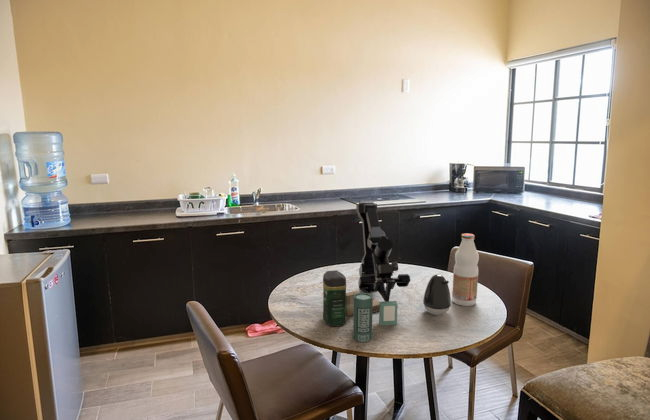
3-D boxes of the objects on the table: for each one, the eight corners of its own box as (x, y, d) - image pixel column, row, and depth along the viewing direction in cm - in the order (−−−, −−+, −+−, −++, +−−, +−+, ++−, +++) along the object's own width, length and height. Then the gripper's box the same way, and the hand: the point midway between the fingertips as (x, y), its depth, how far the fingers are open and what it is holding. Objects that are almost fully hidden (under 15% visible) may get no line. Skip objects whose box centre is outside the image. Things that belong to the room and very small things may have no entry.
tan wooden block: (343, 313, 170) (343, 293, 168) (355, 310, 173) (356, 290, 171) (347, 316, 167) (347, 296, 166) (360, 312, 171) (360, 292, 169)
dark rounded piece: (435, 320, 163) (437, 281, 160) (417, 310, 172) (418, 272, 169) (456, 315, 168) (458, 276, 165) (437, 305, 177) (439, 268, 174)
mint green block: (379, 322, 162) (379, 301, 161) (395, 321, 163) (395, 301, 161) (380, 325, 160) (381, 304, 158) (397, 324, 160) (397, 304, 159)
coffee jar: (348, 326, 159) (348, 276, 156) (326, 328, 158) (326, 278, 154) (341, 314, 169) (341, 267, 165) (321, 316, 167) (320, 269, 163)
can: (370, 333, 154) (371, 292, 151) (372, 342, 148) (373, 299, 145) (352, 333, 153) (353, 292, 150) (354, 342, 147) (354, 299, 145)
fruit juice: (456, 306, 175) (460, 238, 170) (448, 297, 185) (452, 231, 179) (479, 306, 176) (484, 237, 170) (471, 297, 185) (475, 231, 179)
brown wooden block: (358, 299, 176) (371, 306, 169) (369, 296, 179) (382, 303, 173) (357, 306, 177) (370, 313, 170) (369, 302, 180) (382, 309, 173)
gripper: (359, 254, 163) (365, 294, 154) (409, 253, 164) (417, 292, 156) (356, 268, 172) (360, 307, 163) (403, 267, 174) (410, 304, 165)
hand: (387, 302), depth 161 cm, fingers closed
